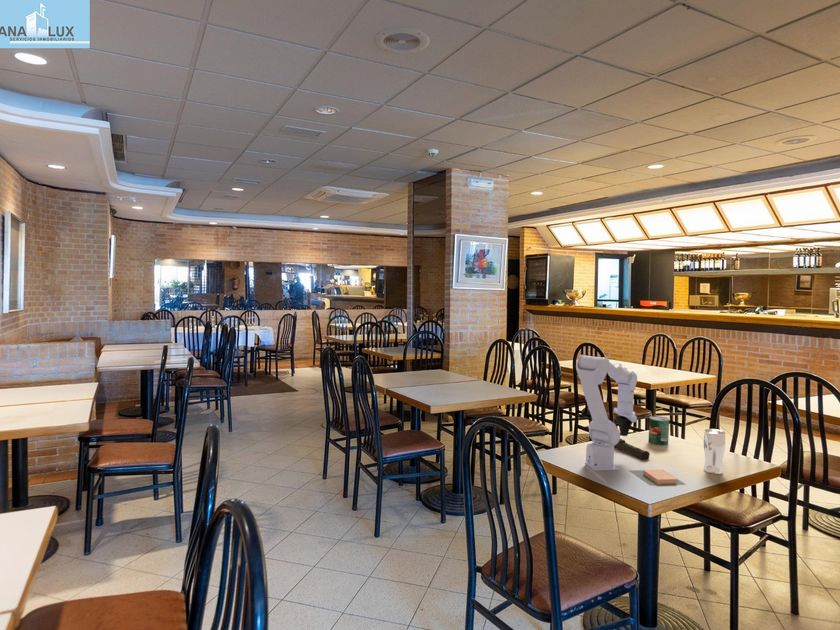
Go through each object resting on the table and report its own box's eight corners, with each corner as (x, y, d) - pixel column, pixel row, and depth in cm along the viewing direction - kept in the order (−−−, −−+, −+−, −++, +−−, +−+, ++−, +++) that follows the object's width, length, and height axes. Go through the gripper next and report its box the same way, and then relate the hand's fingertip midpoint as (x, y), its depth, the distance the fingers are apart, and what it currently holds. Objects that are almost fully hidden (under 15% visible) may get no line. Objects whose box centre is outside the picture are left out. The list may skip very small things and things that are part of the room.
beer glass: (711, 467, 194) (713, 428, 194) (728, 473, 188) (730, 433, 187) (697, 469, 192) (699, 429, 191) (714, 475, 185) (716, 434, 185)
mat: (650, 486, 175) (650, 485, 175) (629, 471, 189) (629, 470, 189) (686, 485, 176) (686, 484, 176) (662, 470, 190) (662, 469, 190)
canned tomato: (645, 442, 224) (646, 417, 223) (652, 439, 229) (653, 415, 229) (664, 447, 218) (665, 421, 217) (671, 443, 223) (672, 418, 223)
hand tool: (650, 461, 201) (650, 449, 201) (641, 461, 200) (642, 450, 200) (618, 446, 219) (619, 435, 219) (610, 447, 218) (611, 436, 218)
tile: (643, 474, 185) (657, 484, 176) (643, 470, 184) (657, 479, 175) (661, 474, 185) (676, 483, 176) (661, 469, 185) (676, 479, 176)
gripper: (645, 405, 194) (643, 440, 195) (625, 397, 208) (624, 430, 209) (627, 405, 193) (625, 441, 194) (609, 397, 207) (607, 430, 208)
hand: (624, 435), depth 201 cm, fingers closed
